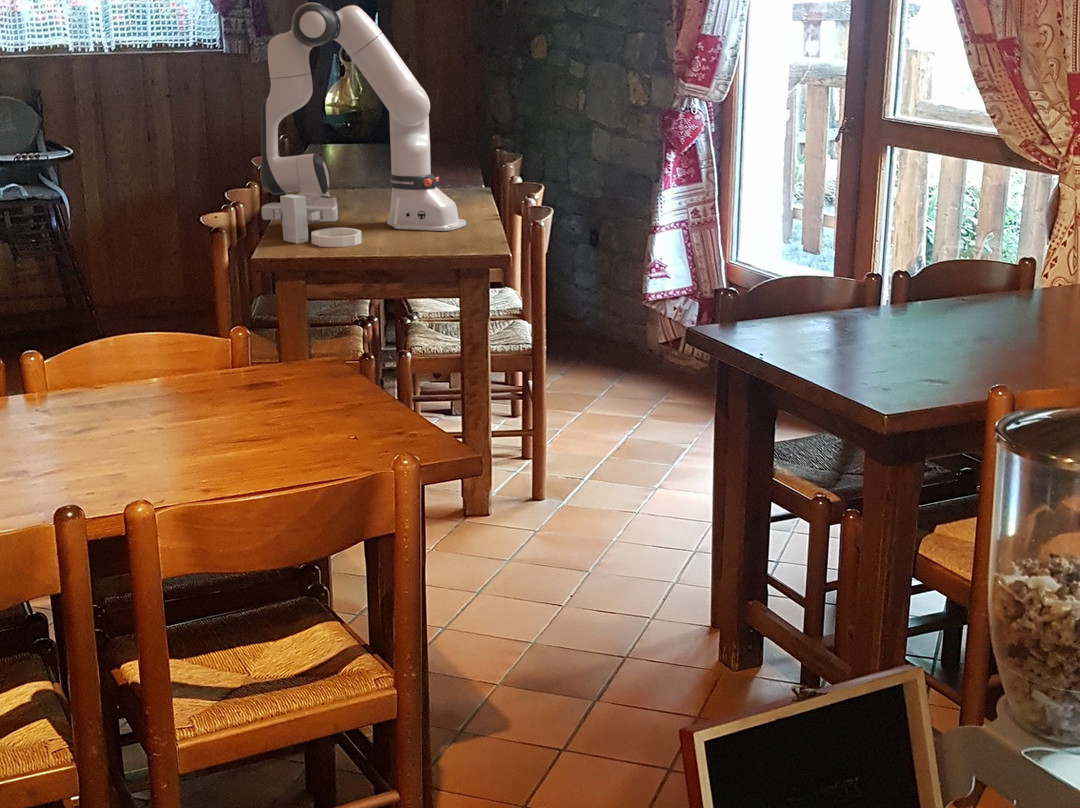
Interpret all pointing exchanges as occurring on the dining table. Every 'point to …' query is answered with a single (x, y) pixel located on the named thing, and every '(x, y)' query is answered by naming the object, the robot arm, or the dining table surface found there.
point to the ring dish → (336, 237)
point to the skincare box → (294, 218)
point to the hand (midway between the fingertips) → (294, 217)
